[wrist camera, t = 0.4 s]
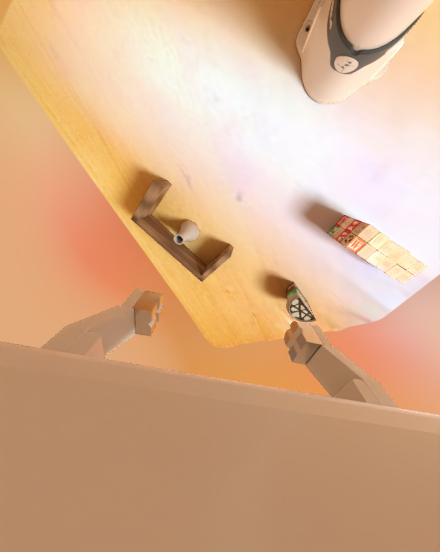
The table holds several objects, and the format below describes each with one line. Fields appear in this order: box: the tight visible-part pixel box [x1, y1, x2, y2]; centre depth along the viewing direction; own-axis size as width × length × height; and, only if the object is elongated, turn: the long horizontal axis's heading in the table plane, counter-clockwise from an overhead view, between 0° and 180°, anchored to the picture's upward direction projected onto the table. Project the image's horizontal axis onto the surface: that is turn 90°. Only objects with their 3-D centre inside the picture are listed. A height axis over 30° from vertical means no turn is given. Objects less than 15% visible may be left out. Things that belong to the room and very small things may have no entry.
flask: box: [173, 220, 200, 245], centre depth 53 cm, size 7×7×10 cm
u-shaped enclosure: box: [131, 180, 233, 282], centre depth 54 cm, size 14×29×8 cm, turn 46°
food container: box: [286, 283, 316, 322], centre depth 58 cm, size 12×6×10 cm, turn 40°
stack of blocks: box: [328, 215, 427, 283], centre depth 44 cm, size 21×6×12 cm, turn 61°
